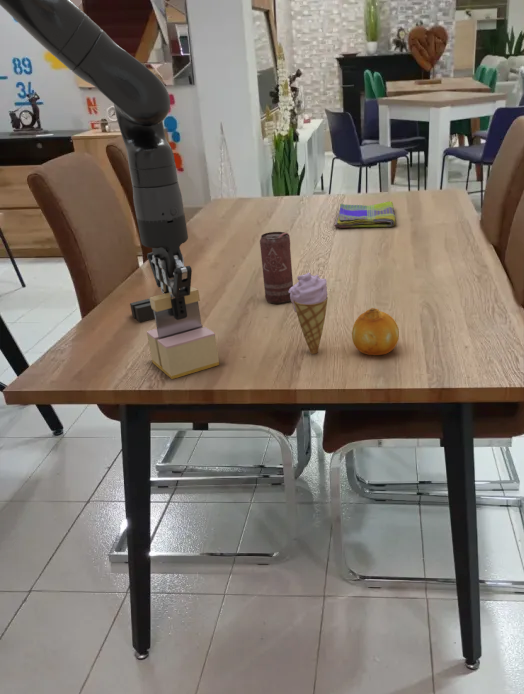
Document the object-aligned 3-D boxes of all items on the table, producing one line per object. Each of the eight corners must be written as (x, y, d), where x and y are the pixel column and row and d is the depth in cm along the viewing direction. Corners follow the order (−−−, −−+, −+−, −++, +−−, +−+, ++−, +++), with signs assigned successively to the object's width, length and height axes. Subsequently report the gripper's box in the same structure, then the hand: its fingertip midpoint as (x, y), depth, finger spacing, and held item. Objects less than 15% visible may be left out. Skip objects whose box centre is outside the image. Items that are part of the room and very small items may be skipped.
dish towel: (395, 208, 217) (395, 199, 215) (395, 228, 196) (395, 218, 194) (339, 210, 218) (339, 201, 217) (333, 230, 198) (333, 220, 196)
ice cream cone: (293, 360, 121) (286, 277, 114) (293, 346, 126) (286, 266, 119) (331, 357, 121) (326, 274, 114) (329, 344, 127) (325, 263, 119)
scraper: (163, 350, 118) (154, 300, 113) (158, 347, 119) (149, 297, 115) (205, 338, 122) (198, 289, 117) (200, 335, 123) (193, 286, 119)
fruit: (345, 349, 118) (368, 309, 115) (342, 335, 125) (364, 296, 122) (386, 370, 120) (410, 331, 117) (382, 355, 127) (404, 317, 124)
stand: (139, 322, 142) (137, 308, 140) (132, 316, 145) (129, 303, 143) (180, 311, 146) (178, 298, 144) (172, 306, 149) (170, 293, 147)
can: (300, 299, 148) (295, 234, 141) (274, 306, 145) (268, 240, 138) (286, 292, 153) (281, 228, 146) (260, 299, 150) (254, 234, 143)
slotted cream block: (171, 379, 117) (166, 346, 114) (152, 362, 124) (146, 331, 121) (219, 364, 121) (215, 333, 118) (198, 349, 128) (193, 318, 125)
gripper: (122, 210, 113) (142, 310, 121) (154, 224, 103) (173, 333, 111) (165, 202, 116) (181, 300, 125) (200, 216, 106) (215, 321, 115)
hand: (177, 315), depth 118 cm, fingers closed on scraper, 2 cm apart
